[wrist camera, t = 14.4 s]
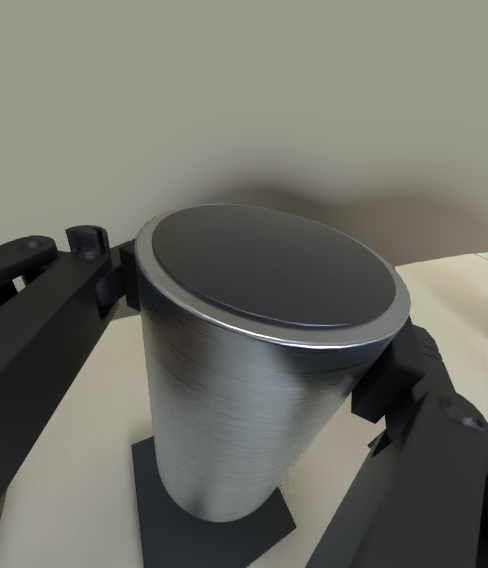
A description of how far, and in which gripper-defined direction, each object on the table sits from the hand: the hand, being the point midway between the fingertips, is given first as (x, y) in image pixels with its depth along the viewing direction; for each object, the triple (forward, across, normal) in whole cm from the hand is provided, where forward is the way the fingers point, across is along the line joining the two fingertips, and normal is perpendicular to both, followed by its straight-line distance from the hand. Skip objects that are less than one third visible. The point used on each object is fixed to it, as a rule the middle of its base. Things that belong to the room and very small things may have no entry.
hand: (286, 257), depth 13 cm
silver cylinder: (-5, 0, -12) cm, 12 cm away
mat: (-5, 0, -23) cm, 23 cm away
